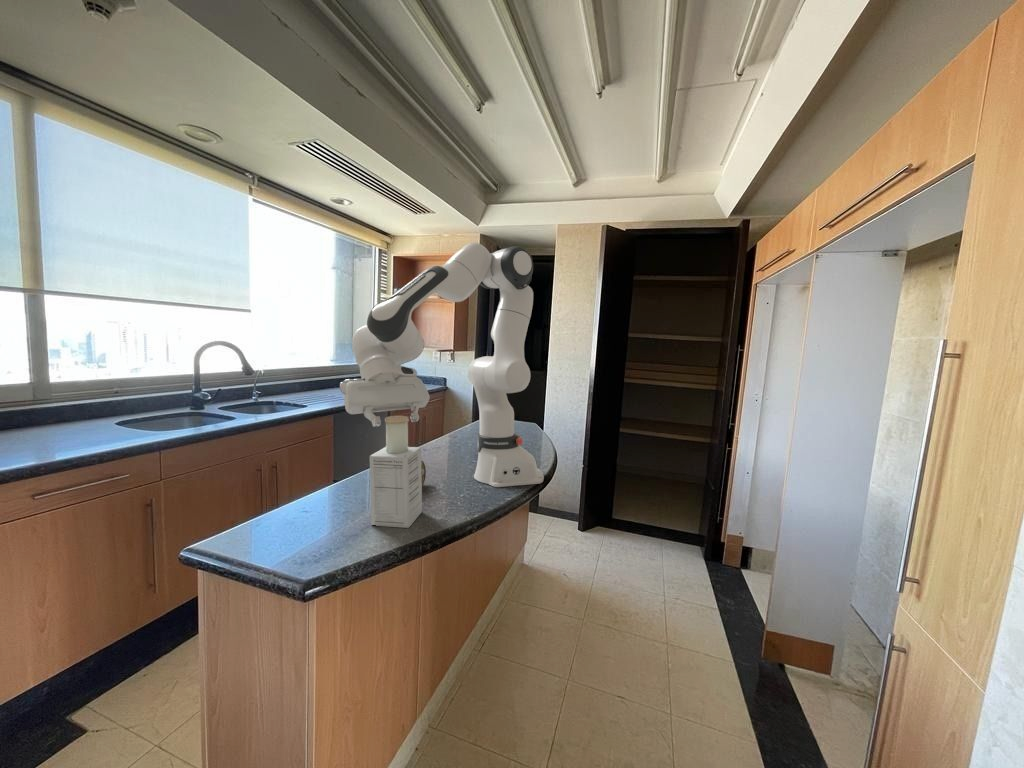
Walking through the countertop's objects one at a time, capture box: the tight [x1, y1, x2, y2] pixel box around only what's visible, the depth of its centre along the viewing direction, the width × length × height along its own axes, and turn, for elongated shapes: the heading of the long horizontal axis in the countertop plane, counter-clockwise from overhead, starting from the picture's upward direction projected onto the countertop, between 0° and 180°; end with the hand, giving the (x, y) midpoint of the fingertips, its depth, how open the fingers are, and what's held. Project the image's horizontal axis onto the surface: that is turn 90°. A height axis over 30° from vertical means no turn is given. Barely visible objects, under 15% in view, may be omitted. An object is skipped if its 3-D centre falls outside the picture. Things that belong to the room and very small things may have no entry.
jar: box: [384, 415, 410, 454], centre depth 90 cm, size 5×5×8 cm
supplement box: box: [369, 446, 423, 529], centre depth 91 cm, size 10×9×17 cm
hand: (397, 422), depth 90 cm, fingers open, 8 cm apart
